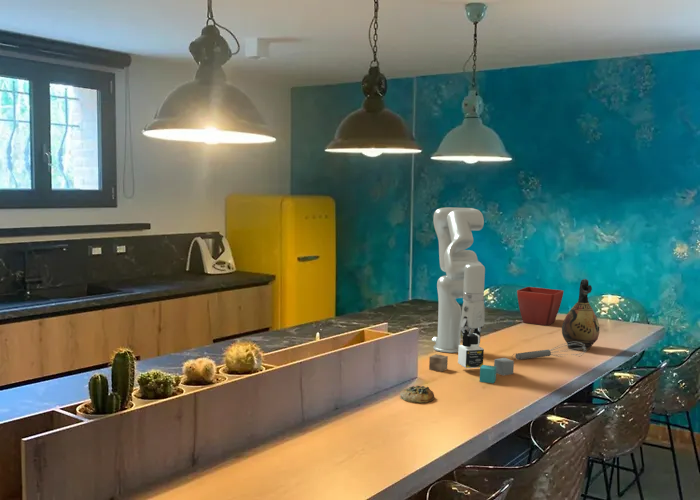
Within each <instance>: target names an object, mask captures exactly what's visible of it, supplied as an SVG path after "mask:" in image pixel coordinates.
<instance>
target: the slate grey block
mask: <svg viewBox="0 0 700 500" xmlns="http://www.w3.org/2000/svg"><path fill="white" fill-rule="evenodd" d="M493 362H494V363H493V366H496V375H497V374H498V375H500V376H503V377H504V376H509V375H513V374H514V371H515V370H514V369H515V368H514V367H515V366H514V365H515V360H514V359H512V360H511V359H509V358H507V357H501V358H494V361H493Z"/></svg>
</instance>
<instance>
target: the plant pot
mask: <svg viewBox="0 0 700 500" xmlns="http://www.w3.org/2000/svg"><path fill="white" fill-rule="evenodd" d="M564 291H565V290H562V289H553V288H552V289H551V288H544V287H532V286H527V287H523V288H521V289H518V290H516V293H517V295H516V296H517V302H518V308H519V313H520V316H521V319H522V322H523V323H525V324H534V325H540V326H549V325H551V324H553V323H555V321H556V319H557V315H558V313H559V310H560V308H561V305H562V304H561V303H562V300H563V296H564Z"/></svg>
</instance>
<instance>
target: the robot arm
mask: <svg viewBox="0 0 700 500" xmlns="http://www.w3.org/2000/svg"><path fill="white" fill-rule="evenodd" d="M484 220H485V218H484V215H483V213H482V212H481V211H480V210H479V209H476V208H473V207H440V208H437V209H436V210H435V211H434V213H433V227H434V230H435V235H436V237H437V240H438V255H439V257H438V259H439V268H440V270H441V271H442V272H444V273H445V275H442V276H439V278H438V279H437V283H436V288H437V289H436V290H437V299H438V308H437V309H438V310H437V311H438V314H437V315H438V316H437V318H438V319H437V336H433V338H431V342H434V343H435V344H434V345H433V350H434V351H437V352H440V353H452V354H453V353H454V354H457V353H458V349H459V345H463V346H467V347H470V346H471V336H470V334H471V333H475V334H478V335H479V336H480V337H481V333H482V328H483V326H485V321H486V320H485V319H486V318H485V316H486V314H485V313H486V312H485V311H486V310H485V301H484V298H485V297H484V296H485V293H484V292H485V278H486V277H485V276H486V275H485V274H486V268H485V266H484V265H483V263H482V262H480V261H479V259H478V256H477V253H476V252H475V251H473V250H472V249H471V250H470V249H468V248H470V247H471V246H472V245H473V243H474V237H473V233H472V231H481V230H482V229H483V228H484V224H485V221H484ZM457 299H462V301H463V303H462V306H461V305H460V304H459V302H457ZM461 335H462V344H461Z"/></svg>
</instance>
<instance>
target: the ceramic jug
mask: <svg viewBox="0 0 700 500" xmlns="http://www.w3.org/2000/svg"><path fill="white" fill-rule="evenodd" d="M592 290H593V287H592V285H591V284H590V285H589V280H588V279H586V278H584V279H581V281H580V283H579V294H578V301H577V302H576V303H575V304H574V305H573V306H572V307H571V309H570V310H569V311H568V313H567V314H566V315H565V317H564V320H563V322H562V326H561V335H562V337H563V340H565V342H566V345H568V346H567V349H568V350H569V349H571V350H573V351H578V352H579V351H580V352H581V351H583V350H584V349H583V348H585V347H586V348H585V351H589V350H590V348H591V347H592V345H594V344H595V343H596V342H597V340H598V339H599V335H600V325H599V319H598V317H597V314H596V313H595V311H594V309H593V307H592V306H591V304H590V302H589V298H588V295H589V294H590V293H592ZM568 342H570V343H568ZM579 342H580V343H579ZM573 343H575V344H576V345H574V344H573ZM581 343H583V345H582V344H581ZM569 344H570V345H569ZM580 345H581V346H580ZM576 348H578V349H580V350H578V349H576Z"/></svg>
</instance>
